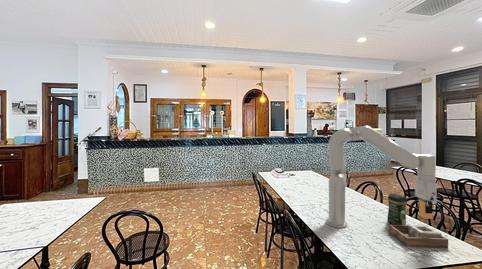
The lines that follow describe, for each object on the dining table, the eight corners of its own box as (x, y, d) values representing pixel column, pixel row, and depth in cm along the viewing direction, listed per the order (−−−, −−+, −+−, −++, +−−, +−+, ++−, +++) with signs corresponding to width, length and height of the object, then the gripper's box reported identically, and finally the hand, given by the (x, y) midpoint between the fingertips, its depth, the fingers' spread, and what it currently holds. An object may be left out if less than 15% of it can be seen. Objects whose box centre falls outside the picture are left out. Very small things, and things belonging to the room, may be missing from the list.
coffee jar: (384, 221, 149) (385, 192, 149) (394, 220, 152) (395, 191, 151) (398, 227, 140) (399, 197, 140) (408, 226, 142) (409, 196, 142)
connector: (418, 215, 127) (418, 197, 126) (426, 215, 126) (427, 197, 126) (424, 218, 122) (424, 199, 122) (433, 218, 122) (433, 200, 122)
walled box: (388, 232, 134) (388, 222, 133) (424, 233, 132) (425, 223, 132) (406, 246, 118) (407, 235, 117) (448, 248, 116) (448, 236, 116)
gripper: (408, 174, 132) (408, 206, 133) (430, 181, 115) (430, 217, 116) (422, 174, 132) (421, 206, 132) (446, 181, 115) (445, 217, 116)
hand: (425, 211), depth 124 cm, fingers closed on connector, 4 cm apart
